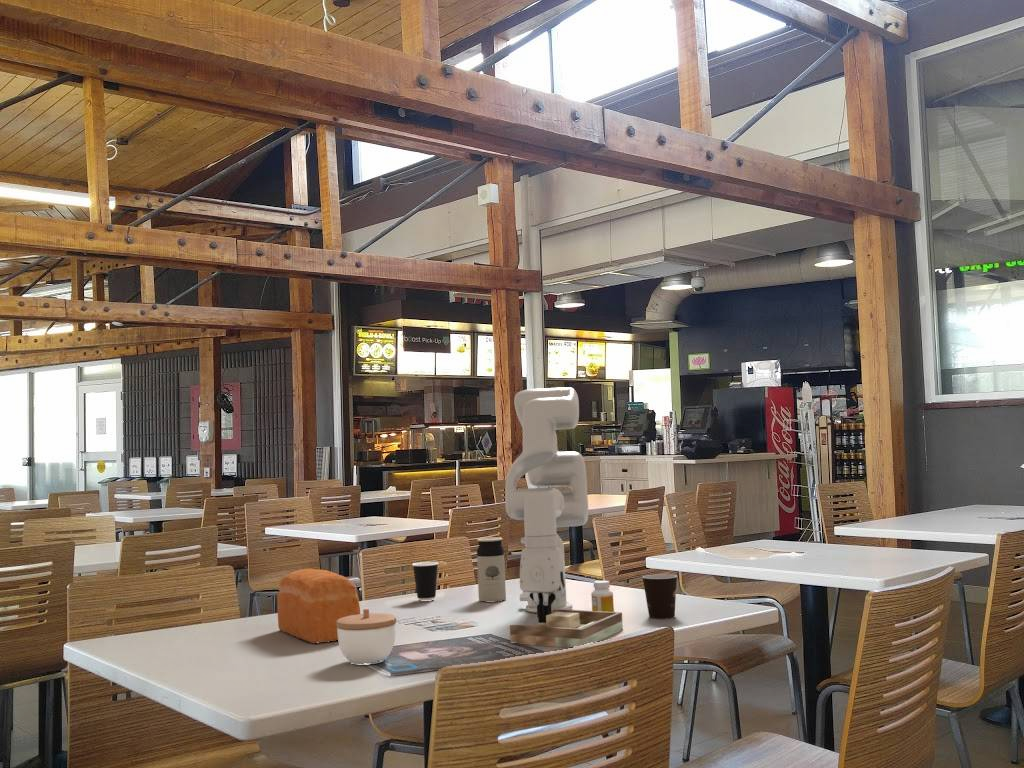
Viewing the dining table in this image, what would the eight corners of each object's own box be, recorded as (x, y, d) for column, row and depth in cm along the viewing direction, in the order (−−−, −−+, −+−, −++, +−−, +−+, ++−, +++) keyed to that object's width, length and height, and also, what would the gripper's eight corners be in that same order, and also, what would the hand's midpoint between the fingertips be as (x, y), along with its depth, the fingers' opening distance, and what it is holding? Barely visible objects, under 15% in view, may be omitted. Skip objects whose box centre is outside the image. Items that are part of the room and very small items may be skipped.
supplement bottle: (617, 619, 233) (615, 580, 234) (610, 623, 228) (608, 583, 229) (597, 618, 236) (595, 579, 236) (589, 622, 231) (587, 583, 231)
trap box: (510, 643, 210) (509, 625, 210) (555, 625, 229) (554, 609, 229) (582, 648, 201) (581, 629, 201) (622, 629, 220) (621, 612, 220)
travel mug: (481, 598, 277) (478, 537, 278) (507, 597, 276) (505, 536, 277) (476, 603, 269) (474, 540, 270) (503, 602, 268) (501, 539, 269)
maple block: (546, 628, 215) (546, 615, 215) (557, 624, 219) (556, 611, 219) (569, 630, 211) (568, 616, 212) (579, 626, 216) (579, 613, 216)
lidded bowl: (402, 664, 193) (400, 610, 194) (340, 671, 189) (339, 616, 190) (392, 653, 205) (390, 602, 206) (334, 659, 201) (333, 607, 202)
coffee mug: (669, 620, 228) (666, 579, 229) (638, 618, 234) (636, 578, 234) (690, 613, 238) (688, 573, 238) (660, 610, 243) (658, 572, 244)
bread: (325, 623, 246) (323, 563, 248) (365, 637, 224) (362, 571, 226) (274, 631, 239) (272, 568, 240) (310, 646, 217) (308, 577, 218)
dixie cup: (445, 599, 278) (443, 562, 279) (424, 603, 272) (423, 565, 273) (428, 597, 284) (427, 561, 284) (407, 601, 278) (406, 564, 279)
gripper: (505, 544, 220) (509, 623, 218) (561, 544, 212) (565, 626, 211) (521, 541, 226) (525, 617, 225) (576, 541, 219) (580, 620, 217)
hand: (544, 621), depth 218 cm, fingers closed
